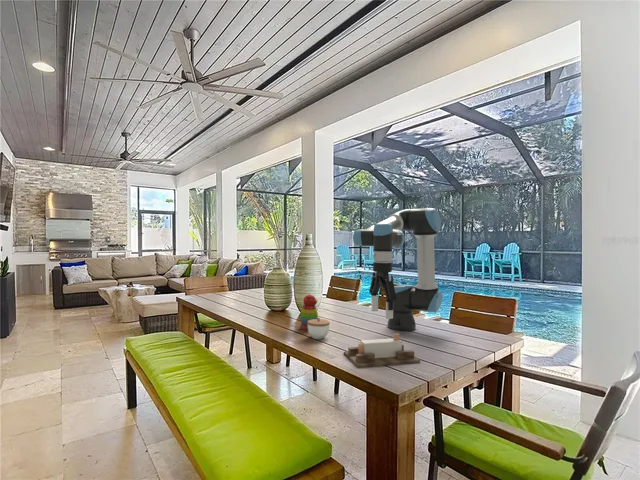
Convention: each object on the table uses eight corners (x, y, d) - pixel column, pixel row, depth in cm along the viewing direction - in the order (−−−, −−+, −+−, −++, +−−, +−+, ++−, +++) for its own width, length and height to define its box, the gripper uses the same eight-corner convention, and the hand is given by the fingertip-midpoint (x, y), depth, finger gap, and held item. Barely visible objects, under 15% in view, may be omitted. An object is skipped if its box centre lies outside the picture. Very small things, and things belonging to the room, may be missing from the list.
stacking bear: (316, 331, 180) (317, 296, 180) (297, 330, 182) (298, 295, 182) (320, 326, 191) (321, 293, 191) (302, 325, 193) (303, 292, 193)
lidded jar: (307, 334, 175) (308, 315, 175) (329, 334, 174) (329, 315, 174) (306, 340, 164) (306, 320, 164) (329, 340, 163) (329, 320, 163)
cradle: (400, 349, 152) (400, 341, 152) (420, 362, 136) (420, 353, 136) (343, 354, 145) (343, 345, 145) (357, 367, 130) (357, 358, 130)
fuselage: (396, 352, 145) (396, 332, 145) (401, 356, 140) (401, 335, 140) (357, 355, 140) (357, 334, 140) (361, 359, 136) (362, 337, 136)
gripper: (362, 260, 152) (361, 308, 152) (387, 264, 128) (387, 322, 128) (378, 259, 154) (377, 308, 154) (406, 264, 130) (405, 321, 130)
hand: (381, 314), depth 141 cm, fingers open, 13 cm apart
